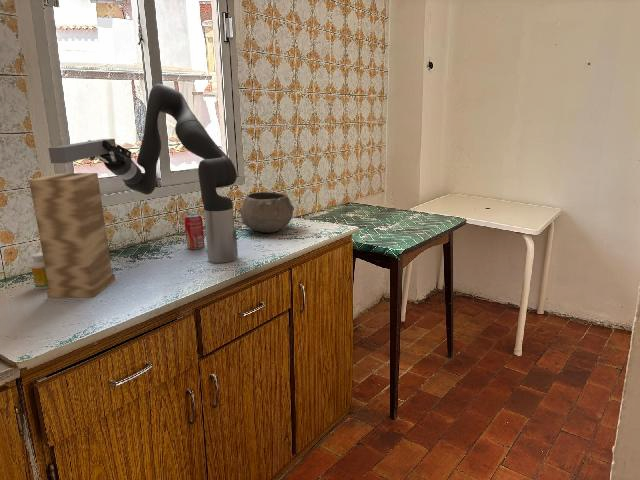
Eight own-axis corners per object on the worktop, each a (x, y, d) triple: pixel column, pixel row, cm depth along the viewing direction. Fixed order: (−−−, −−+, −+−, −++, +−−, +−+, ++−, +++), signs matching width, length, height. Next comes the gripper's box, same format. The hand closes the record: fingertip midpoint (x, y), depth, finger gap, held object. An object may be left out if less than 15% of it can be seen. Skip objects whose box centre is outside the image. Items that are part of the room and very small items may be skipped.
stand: (115, 280, 145) (99, 172, 136) (94, 297, 132) (75, 179, 124) (72, 280, 145) (54, 173, 137) (47, 297, 133) (25, 180, 124)
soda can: (192, 251, 172) (188, 218, 169) (183, 247, 177) (180, 215, 173) (207, 247, 176) (205, 215, 173) (199, 244, 181) (196, 212, 177)
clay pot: (266, 222, 210) (264, 188, 206) (304, 229, 199) (303, 192, 195) (230, 233, 194) (227, 196, 190) (269, 241, 182) (267, 201, 178)
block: (116, 151, 156) (114, 138, 155) (65, 163, 127) (63, 147, 126) (104, 151, 156) (102, 138, 155) (51, 163, 127) (48, 147, 126)
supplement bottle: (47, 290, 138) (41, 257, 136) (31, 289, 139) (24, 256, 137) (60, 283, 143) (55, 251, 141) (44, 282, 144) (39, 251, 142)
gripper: (101, 155, 165) (74, 131, 148) (142, 154, 164) (120, 131, 148) (99, 175, 163) (71, 154, 146) (141, 175, 162) (118, 154, 146)
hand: (96, 143), depth 147 cm, fingers closed on block, 4 cm apart
